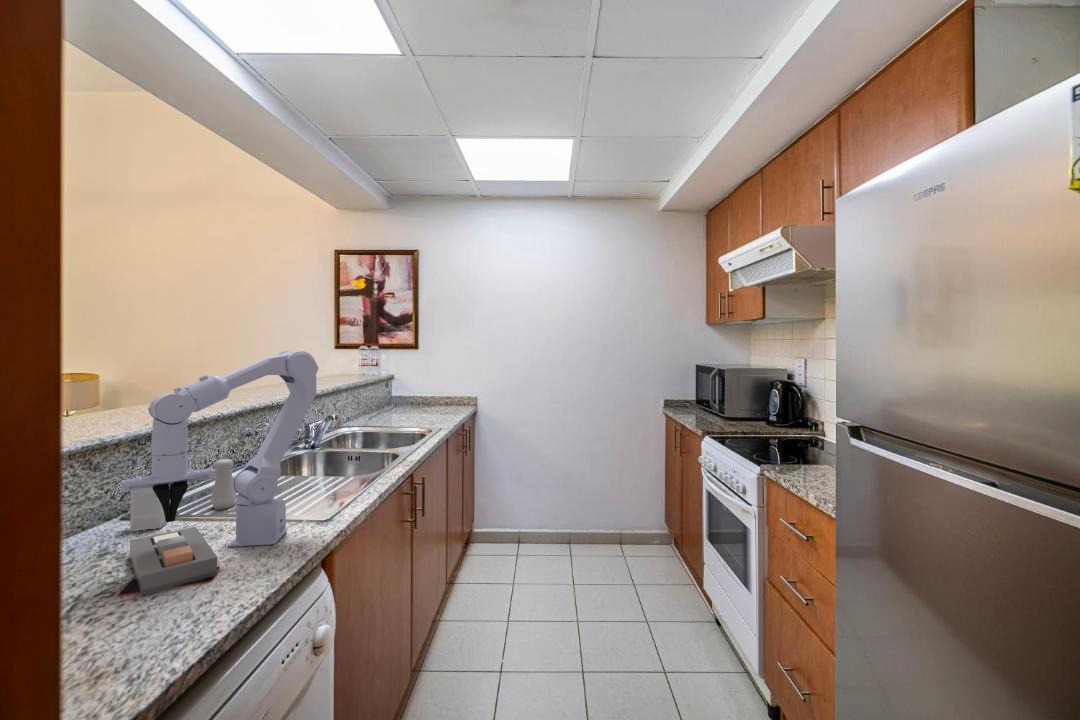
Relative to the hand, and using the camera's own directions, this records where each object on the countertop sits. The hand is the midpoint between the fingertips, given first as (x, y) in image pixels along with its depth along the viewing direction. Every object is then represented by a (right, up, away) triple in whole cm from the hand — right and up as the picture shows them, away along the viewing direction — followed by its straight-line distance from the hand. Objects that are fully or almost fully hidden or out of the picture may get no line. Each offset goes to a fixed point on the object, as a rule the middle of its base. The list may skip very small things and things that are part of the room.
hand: (170, 520), depth 94 cm
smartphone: (+7, -9, -8) cm, 14 cm away
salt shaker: (-12, -8, +34) cm, 37 cm away
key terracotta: (+7, -6, -7) cm, 11 cm away
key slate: (+2, -6, -2) cm, 6 cm away
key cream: (-3, -7, +3) cm, 9 cm away
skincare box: (-20, -8, +18) cm, 28 cm away
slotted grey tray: (+2, -8, -2) cm, 9 cm away
